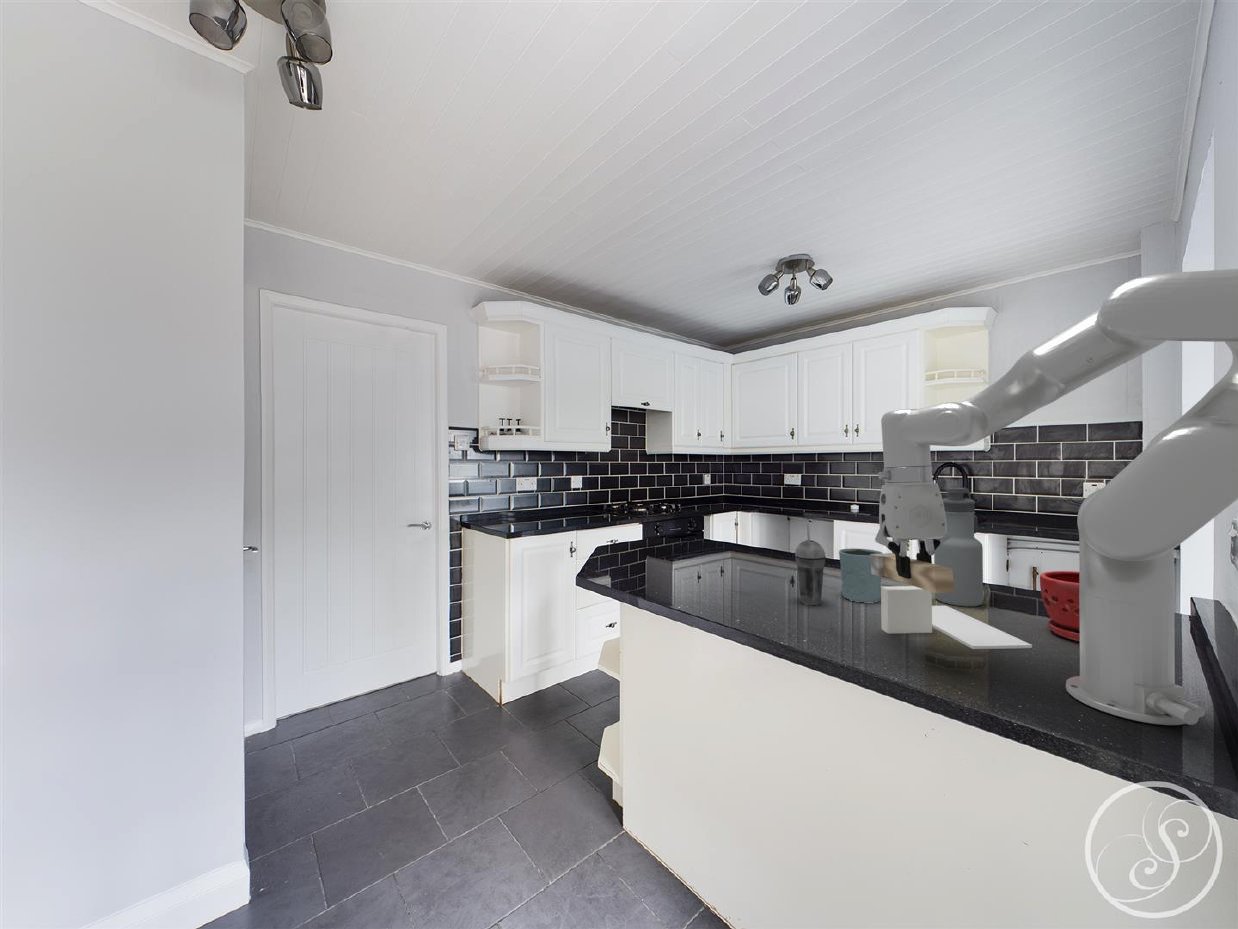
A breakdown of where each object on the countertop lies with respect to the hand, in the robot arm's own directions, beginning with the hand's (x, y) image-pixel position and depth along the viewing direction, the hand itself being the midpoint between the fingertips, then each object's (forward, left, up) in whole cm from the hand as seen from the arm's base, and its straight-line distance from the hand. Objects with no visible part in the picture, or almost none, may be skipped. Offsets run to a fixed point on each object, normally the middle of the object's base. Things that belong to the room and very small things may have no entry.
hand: (914, 575), depth 89 cm
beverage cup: (+31, +7, -15) cm, 35 cm away
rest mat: (+13, -17, -14) cm, 26 cm away
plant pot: (+6, -37, -15) cm, 40 cm away
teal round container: (+34, -7, -15) cm, 38 cm away
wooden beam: (+1, 0, -1) cm, 2 cm away
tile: (+11, -5, -14) cm, 19 cm away
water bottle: (+30, -29, -15) cm, 44 cm away
